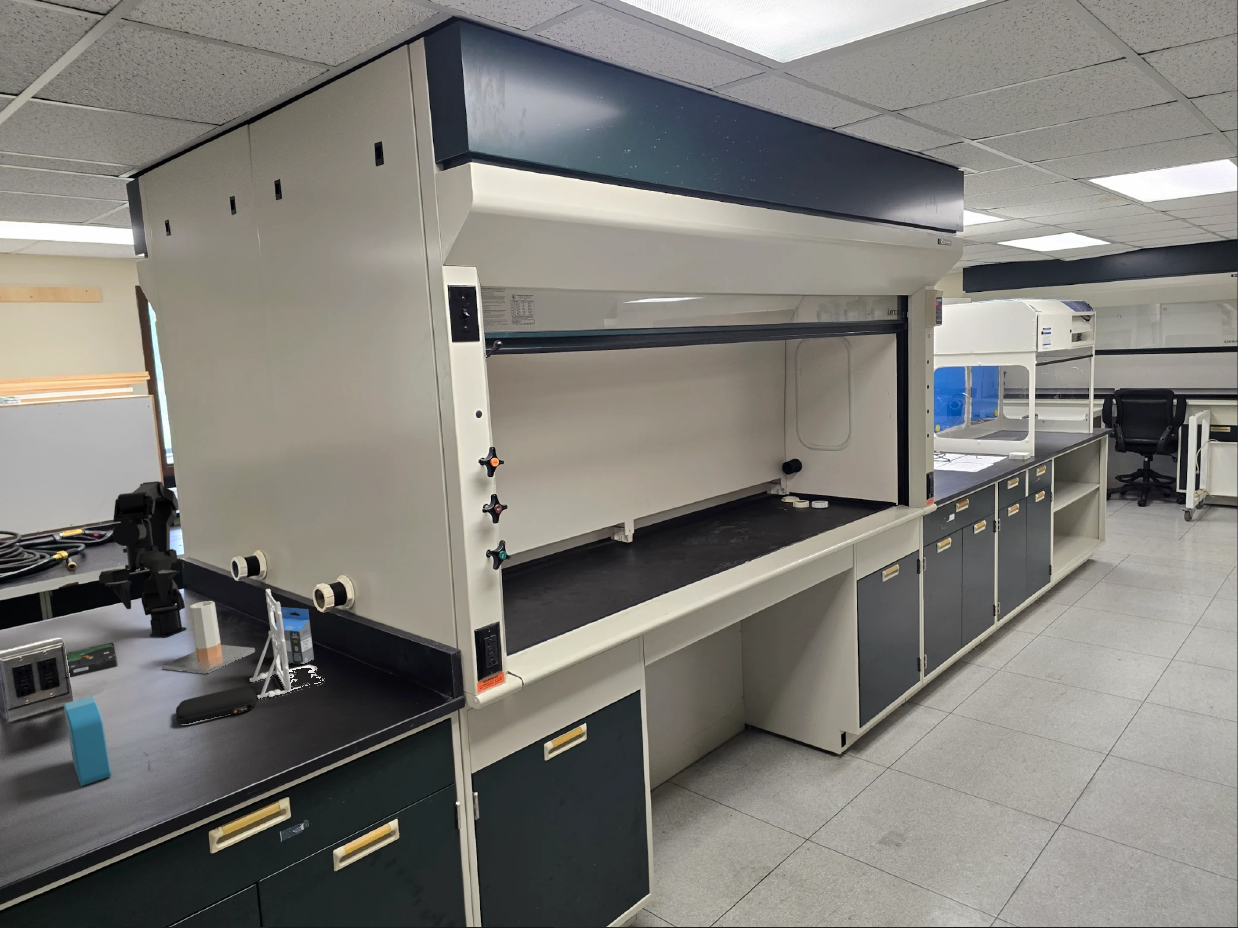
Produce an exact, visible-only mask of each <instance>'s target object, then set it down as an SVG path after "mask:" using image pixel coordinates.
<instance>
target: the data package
mask: <svg viewBox="0 0 1238 928" xmlns="http://www.w3.org/2000/svg"><path fill="white" fill-rule="evenodd" d="M63 710H64V717H65V722H66V728H67V733H68V738H69V745H70V750H71V751H70V752H71V757H72V762H73V767H74V769H75V772H76V775H77V779H78V782H79V784H80V786H81V787H82V786H83V785H84V786H86V785H85V784H87V785H90V784H92V782H93V783H95V781H96V782H99V781H101V779H102V780H104V779H103V778H105V779H107V778H106V777H108V778H111V777H112V770H111V769H112V768H111V762H110V756H109V751H108V744H107V740H106V738H107V737H106V734H105V732H106V731H105V727H104V720H103V716H102V713H101V710H100V708H99V705H98V704H97V701H96V699H95V697H94V696H93V695H92V696H88V697H85V698H80V699H77V700H74V701H69V702H66V703H64V704H63ZM98 780H99V781H98ZM89 783H90V784H89Z"/></svg>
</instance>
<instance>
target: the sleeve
mask: <svg viewBox="0 0 1238 928" xmlns="http://www.w3.org/2000/svg"><path fill="white" fill-rule="evenodd" d="M189 612H190V613H189V615H190V620H191V627H192V632H193V633H192V634H193V640H194V646H195V651H196V655H197V659H198V660H200V661H205V660H211V659H215V658H218V657H219V656H220V655H222V650H221V645H222V643H221V637H220V630H219V623H218V618H217V617H218V616H217V608H216V603H215V601H213V600H207V601H206V600H205V601H200V602H195V603H193V604H191V605H190V606H189Z"/></svg>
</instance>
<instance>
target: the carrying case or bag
mask: <svg viewBox="0 0 1238 928" xmlns="http://www.w3.org/2000/svg"><path fill="white" fill-rule="evenodd" d="M257 703H258V699H257V693H256V690H255V689H254V688H252V687H251V686H249V685H245V686H240V687H234V688H231V689H225V690H222V691H221V690H220V691H218V692H213V693H209V694H204V695H200V696H197V697H192V698H191V697H190V698H188V699H184V700H182V701H181V702H179V704H178V705H177V706H176V709H175V722H176V723H177V724H179V725H180V724H189V723H193V722H196V721H200V720H205V719H211V718H214V717H219V716H225V715H228V714H234V715H238V714H240V713H239V712H242V711H246V710H249V711H251V710H250V709H251V708H253V709H254V708H255V706H256V705H257ZM246 712H247V711H246ZM237 713H238V714H237ZM242 713H243V712H242Z"/></svg>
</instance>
